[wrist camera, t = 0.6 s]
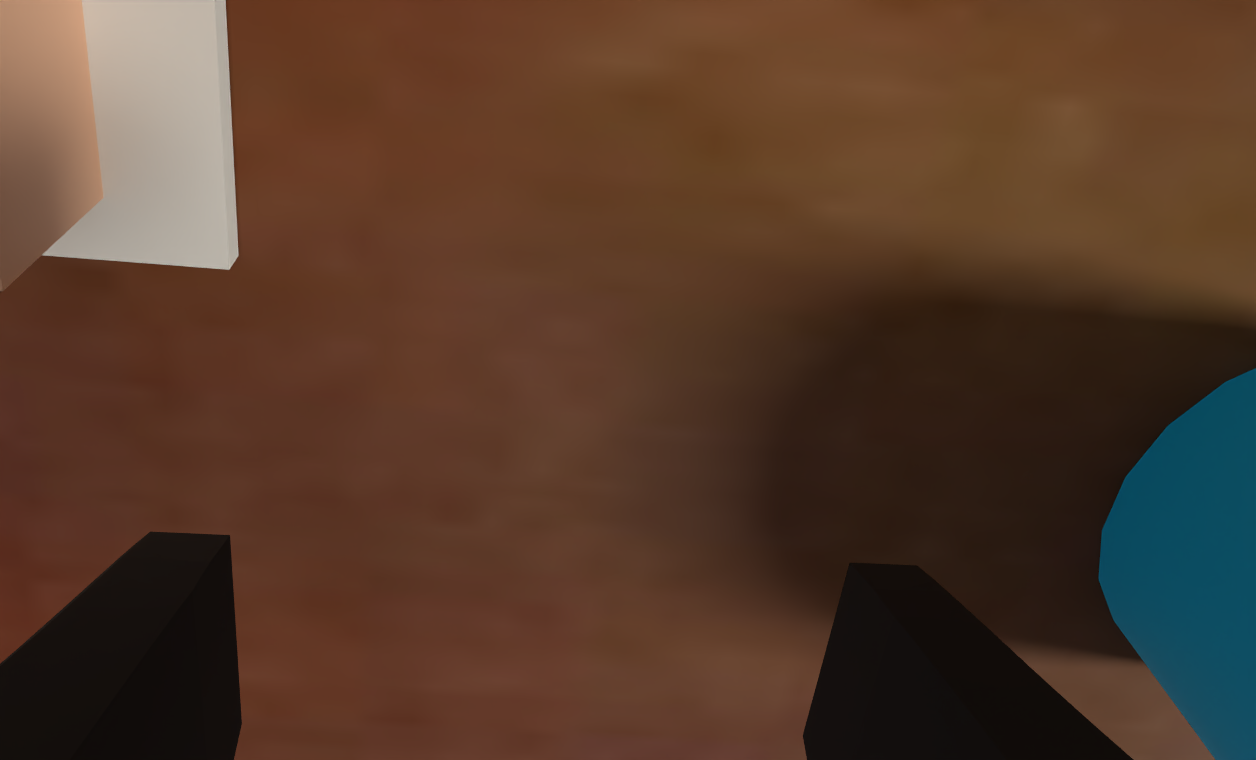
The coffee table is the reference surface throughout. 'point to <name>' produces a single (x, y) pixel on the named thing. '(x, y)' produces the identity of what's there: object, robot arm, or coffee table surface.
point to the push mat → (159, 135)
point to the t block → (43, 129)
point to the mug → (1194, 565)
